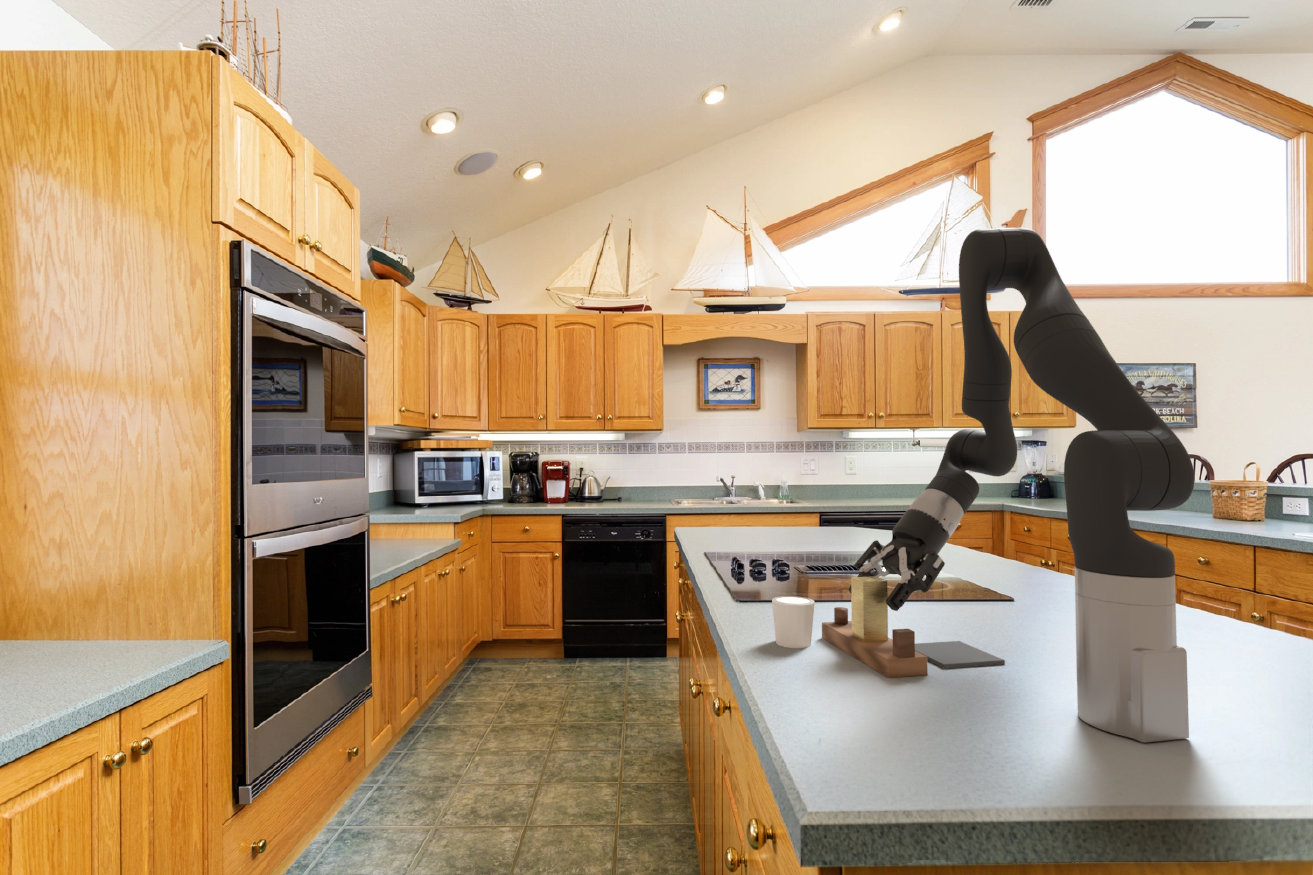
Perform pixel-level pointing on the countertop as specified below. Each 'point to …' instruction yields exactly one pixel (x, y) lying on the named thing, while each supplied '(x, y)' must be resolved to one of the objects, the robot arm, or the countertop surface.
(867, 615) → the pale wooden block
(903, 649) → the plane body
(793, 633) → the white cup
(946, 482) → the robot arm
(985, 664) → the mat
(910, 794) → the countertop surface
